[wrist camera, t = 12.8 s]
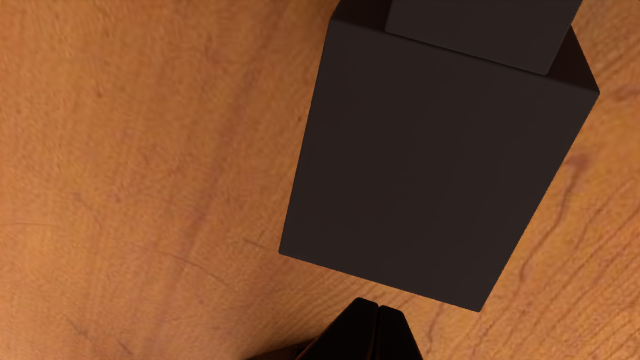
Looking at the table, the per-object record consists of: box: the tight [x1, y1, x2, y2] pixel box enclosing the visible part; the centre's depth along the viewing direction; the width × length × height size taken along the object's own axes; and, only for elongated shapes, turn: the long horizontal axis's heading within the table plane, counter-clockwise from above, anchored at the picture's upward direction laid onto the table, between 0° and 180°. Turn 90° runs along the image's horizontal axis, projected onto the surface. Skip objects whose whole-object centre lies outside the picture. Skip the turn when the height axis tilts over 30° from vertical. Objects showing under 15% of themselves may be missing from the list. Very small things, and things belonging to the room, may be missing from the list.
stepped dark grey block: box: [279, 0, 600, 312], centre depth 15 cm, size 9×5×9 cm, turn 168°
